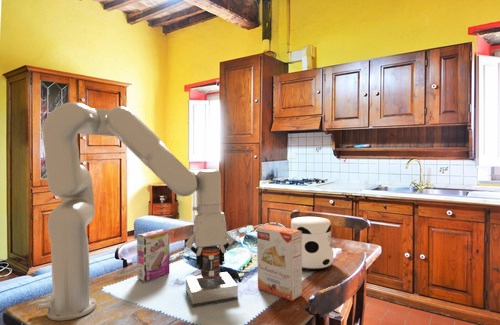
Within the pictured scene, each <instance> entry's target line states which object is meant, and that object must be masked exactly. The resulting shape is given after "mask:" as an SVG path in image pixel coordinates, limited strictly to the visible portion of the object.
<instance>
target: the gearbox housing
mask: <svg viewBox="0 0 500 325" xmlns="http://www.w3.org/2000/svg"><path fill="white" fill-rule="evenodd" d="M238 290H239V289H238V284H237V283H236V281H235V280H234V279H233V278H232V276H231V275H230V273H228V271H223V272H220V275H219V276H218V277H217V278H214V279H205V278H203V277H202V276H201V275H196V276H189V277H188V276H187V277H185V291H186V294H187V297H188V300H189V303H190V306H191V308H197V307H203V306H209V305H215V304H219V303H220V304H221V303H227V302H231V301H237V300H238V299H239V297H238V295H239V294H238V293H239V292H238Z"/></svg>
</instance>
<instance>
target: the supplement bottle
mask: <svg viewBox="0 0 500 325" xmlns="http://www.w3.org/2000/svg"><path fill="white" fill-rule="evenodd" d="M201 255H202V268H200V274H201V275H200V276H202V277H203V278H205V279H214V278H217V277H218V276H219V275H220V273H221V265H220V250H219V246H211V247H203V248H202V251H201Z"/></svg>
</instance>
